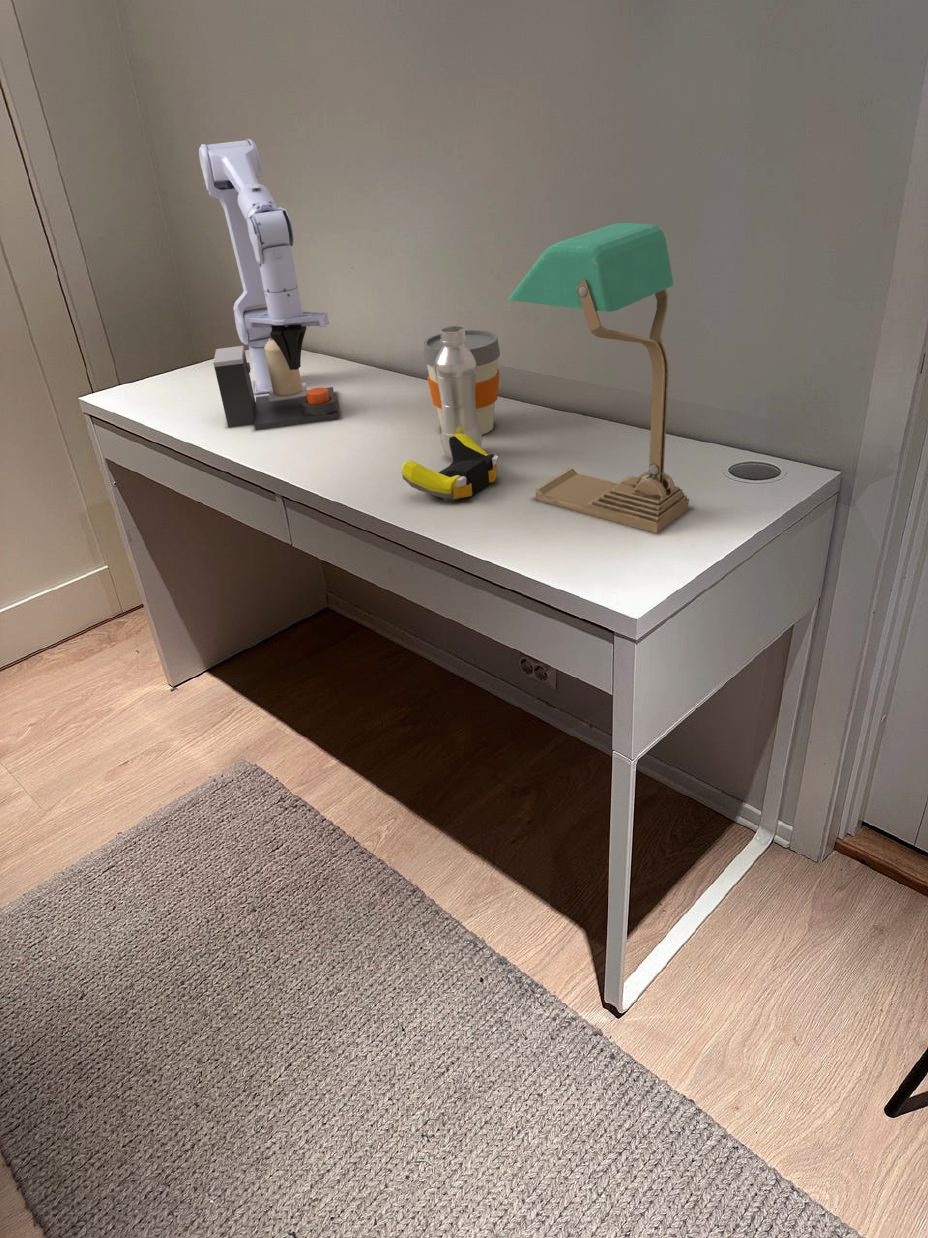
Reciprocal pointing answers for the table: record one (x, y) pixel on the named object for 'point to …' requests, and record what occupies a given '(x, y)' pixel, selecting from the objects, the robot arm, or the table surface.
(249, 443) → the table surface
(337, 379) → the table surface
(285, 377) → the candle
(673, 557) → the table surface
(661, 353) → the banker's lamp
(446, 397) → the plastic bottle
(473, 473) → the gaming controller
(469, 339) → the reusable coffee cup
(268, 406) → the grey base plate
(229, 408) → the tower
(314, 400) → the button
